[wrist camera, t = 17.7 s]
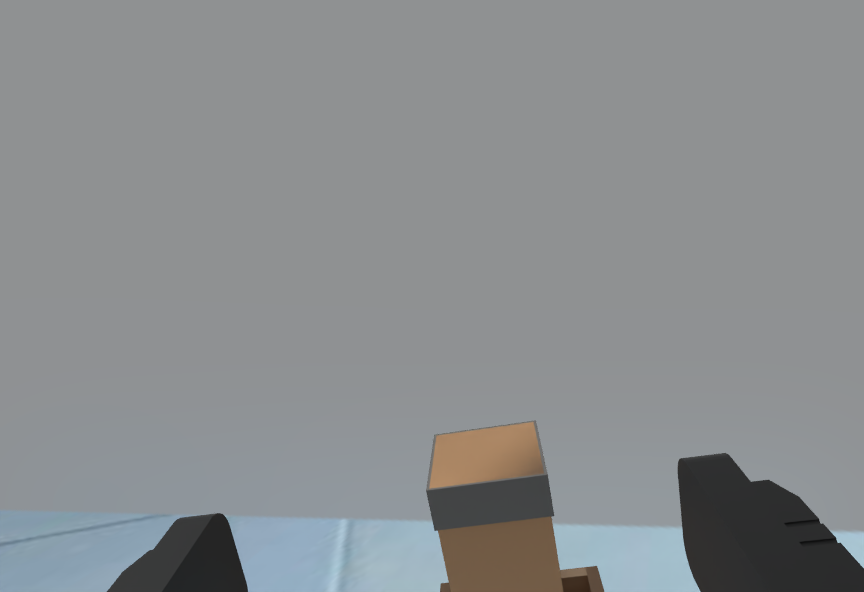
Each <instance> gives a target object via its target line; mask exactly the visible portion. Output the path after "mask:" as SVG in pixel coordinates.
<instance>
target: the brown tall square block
mask: <svg viewBox="0 0 864 592" xmlns="http://www.w3.org/2000/svg"><path fill="white" fill-rule="evenodd" d="M426 492H427V497H428V501H429V506H430V511H431V516H432V520H433V525H434V530H435V531H437V530H438V533H439V537H440V542H441V547H442V552H443V556H444V561H445V566H446V571H447V576H448V580H449V585H450V590H451V592H563V586H562V580H561V574H560V568H559V562H558V555H557V549H556V543H555V537H554V531H553V524H552V518H551V516H554V512H553V506H552V499H551V493H550V487H549V481H548V474H547V470H546V466H545V461H544V456H543V452H542V447H541V443H540V438H539V433H538V428H537V424H536V421H529V422H522V423H515V424H508V425H501V426H494V427H487V428H479V429H472V430H465V431H458V432H451V433H444V434H437V435H434V440H433V447H432V454H431V461H430V468H429V475H428V482H427V489H426Z"/></svg>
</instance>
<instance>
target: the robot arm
mask: <svg viewBox="0 0 864 592" xmlns="http://www.w3.org/2000/svg"><path fill="white" fill-rule="evenodd" d="M678 479H679V492H680V504H681V516H682V528H683V539H684V546H685V551H686V555H687V559H688V563H689V566H690V569H691V572H692V574H693V577H694V579H695V581H696V583H697V585H698V587H699V589H700V591H701V592H864V568H863V567H862V566H861V565H860V564H859V563H858V562H857V561H856V559H855V558H854V557H853V556H852V555H851V554H850V553H849V552H848V551H847V550H846V548H845V547H844V546H843V545H842V544H841V543H837V540H836V537H835V536H834V535H833V534H832V533H831V532H830V531H829V530H828V528H827V527H826V526H825V525H824V524H820V521H819V518H818V517H817V516H816V515H815V514H814V513H813V512H812V511H811V510H810V509H809V508H808V506H807V505H806V504H805V503H804V502H803V501H802V500H801V499H800V497H798V496H796V495H795V494H793V493H791V492H789V491H787V490H786V489H784V488H782V487H780V486H779V485H777V484H775V483H773V482H772V481H770V480H763V481H754V482H750V480H749V479H748V478H747V477H746V476H745V474H744V473H743V472H742V471H741V469H740V468H739V467H738V466H737V464H736V463H735V462H734V461H733V459H732V458H731V457H730V456H729V455H728V454H726V453H722V454H714V455H705V456H698V457H689V458H681V459H679V462H678ZM107 592H248V589H247V584H246V580H245V577H244V573H243V570H242V566H241V563H240V559H239V556H238V553H237V549H236V546H235V542H234V539H233V535H232V532H231V529H230V525H229V523H228V520H227V519H226V517H225V516H224V515H223V514H220V513H217V514H209V515H200V516H192V517H184V518H179V519H177V520H176V521H175V522H174V523H173V525H172V526H171V527H170V528H169V530H168V531H167V532H166V534H165V535H164V536H163V538H162V539H161V540H160V542H159V543H158V544H157V546H156V547H155V548H154V549H153V550H149V551H148V552H147V553H146V554H144V555H143V556H142V557H141V558H139V559H138V560H137V561H136V562H134V563H133V564H132V565H131V566H129V567H128V568H127V569H126V570H124V571H123V572H122V573H121V575H120V576H119V577H118V578H117V580H116V581H115V582H114V584H113V585H112V586H111V587H110V589H109V590H108V591H107Z"/></svg>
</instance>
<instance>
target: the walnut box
mask: <svg viewBox="0 0 864 592" xmlns="http://www.w3.org/2000/svg"><path fill="white" fill-rule="evenodd" d="M560 574H561V580H562V586H563V592H604V589H603V586H602V582H601V579H600V575H599V571H598V568H597V566H593V567H584V568H575V569H566V570H560ZM440 592H451V590H450V585H449V583H441V588H440Z"/></svg>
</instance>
